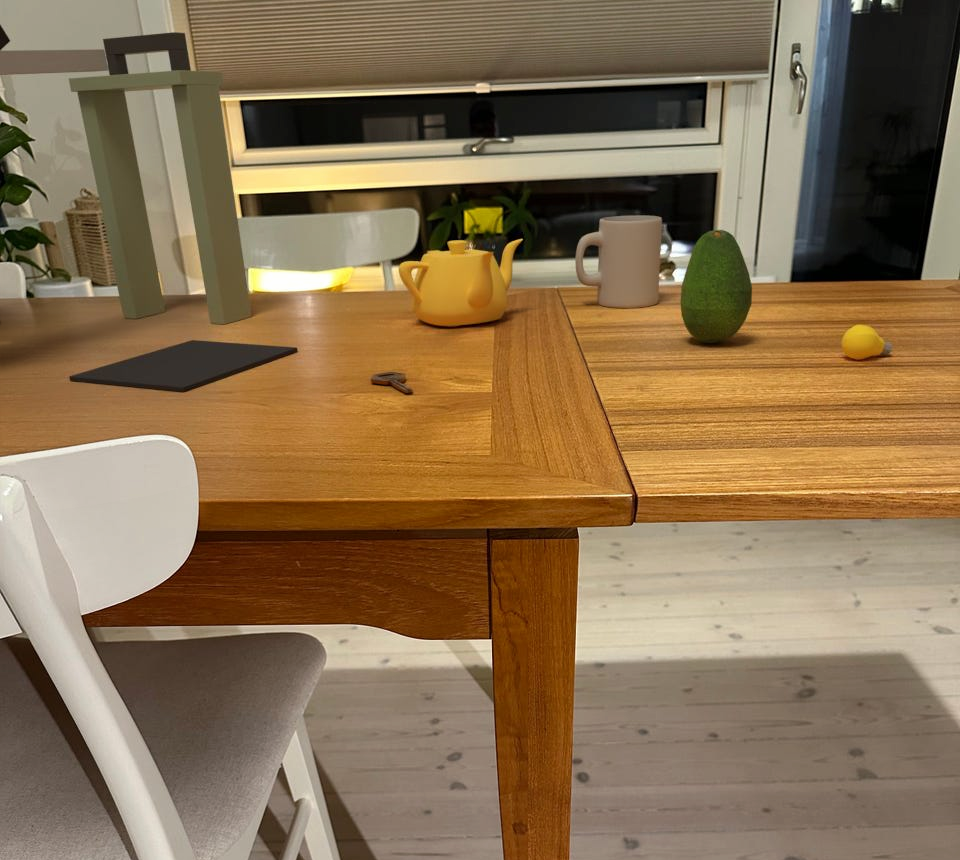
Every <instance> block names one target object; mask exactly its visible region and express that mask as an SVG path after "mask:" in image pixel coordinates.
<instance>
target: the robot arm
mask: <svg viewBox="0 0 960 860" xmlns="http://www.w3.org/2000/svg"><path fill="white" fill-rule="evenodd" d="M9 43H11V39H10V38H9V36H8V34H7V33H6V31H5V30H4V28H3V27H2V24H0V51H2V49H4V48H5V47H6V46H7V45H8V44H9Z"/></svg>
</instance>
